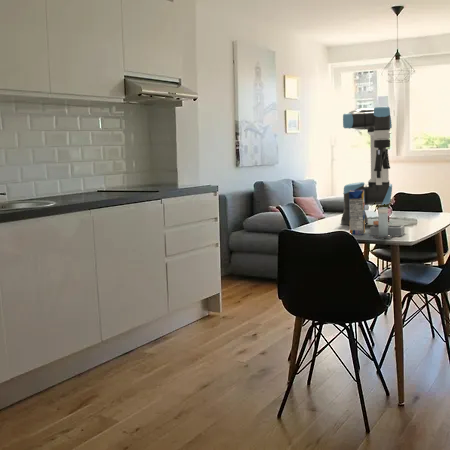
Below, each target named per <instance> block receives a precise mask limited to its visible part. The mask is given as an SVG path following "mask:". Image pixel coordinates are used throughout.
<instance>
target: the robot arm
mask: <svg viewBox="0 0 450 450" xmlns="http://www.w3.org/2000/svg"><path fill="white" fill-rule="evenodd" d="M391 117H392V116H391V109H390V106H386V105H385V106H376V107H370V108H369V107H367V108H358V109H354V110H351V111H349V112H346V113H343V115H342V127H343V128H344V129H350V130H351V129H355V130H363V131H364V130H367V134H368V135H370V137H369V138H370V179H369V180H368V181H367V184H365V182H364V181H362V182H360V181H359V182H354V183H353V182H352V183H349V184H346V185H344V187H343V193H342V194H343V212H342V215H341V216H342V217H341V219H340V224H341V225H345V226H350V224H349V191H350V190H364V194H365V206H383V205H384V204H385V205H388V204H390V202H391V199H392V194H393V183H390V180H389V178H390V176H389V170H390V169H391V166H390V159H389V148H390V147H391V140H390V139H391V134H392V132H391V129H392V126H393V125H392V118H391ZM375 201H376V203H375ZM374 203H375V204H374ZM365 223H369V219H368V216H367V213H366V211H365Z"/></svg>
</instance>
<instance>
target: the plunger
mask: <svg viewBox="0 0 450 450" xmlns="http://www.w3.org/2000/svg"><path fill="white" fill-rule="evenodd" d="M372 223H373V225H376V227H379V226H378V220H373V222H372ZM373 225H372V226H373Z"/></svg>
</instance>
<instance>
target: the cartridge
mask: <svg viewBox="0 0 450 450" xmlns="http://www.w3.org/2000/svg"><path fill="white" fill-rule="evenodd" d="M388 213H389V208H388V207H383V206H380V207H377V214H378V216H377V217H378V220H377V221H378V226H379V237H388V225H389V220H388V219H389V216H388V215H389V214H388Z"/></svg>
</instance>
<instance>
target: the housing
mask: <svg viewBox="0 0 450 450" xmlns="http://www.w3.org/2000/svg"><path fill="white" fill-rule="evenodd" d="M404 234H405V225H398V224H394V225H393V224H388V235H390V236H393V237H402V236H403V235H404ZM369 235H370V236H376V235H379V227H376V225H372V226H370V227H369Z"/></svg>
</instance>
